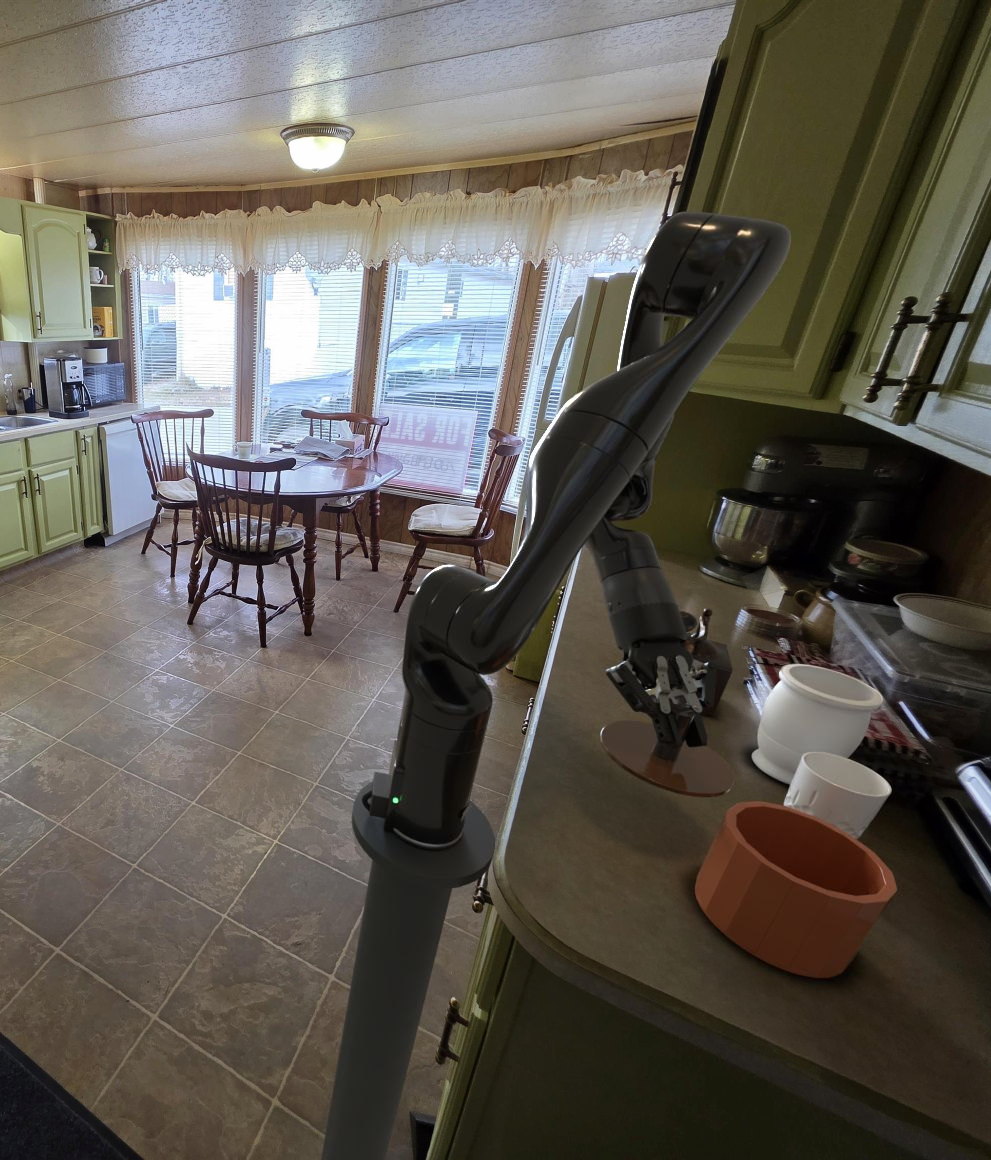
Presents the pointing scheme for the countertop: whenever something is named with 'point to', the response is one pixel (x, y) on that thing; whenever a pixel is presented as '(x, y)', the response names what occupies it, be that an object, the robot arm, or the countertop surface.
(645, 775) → the lid
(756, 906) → the crock
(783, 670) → the jar
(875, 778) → the white cup
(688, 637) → the manual coffee grinder
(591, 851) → the countertop surface
